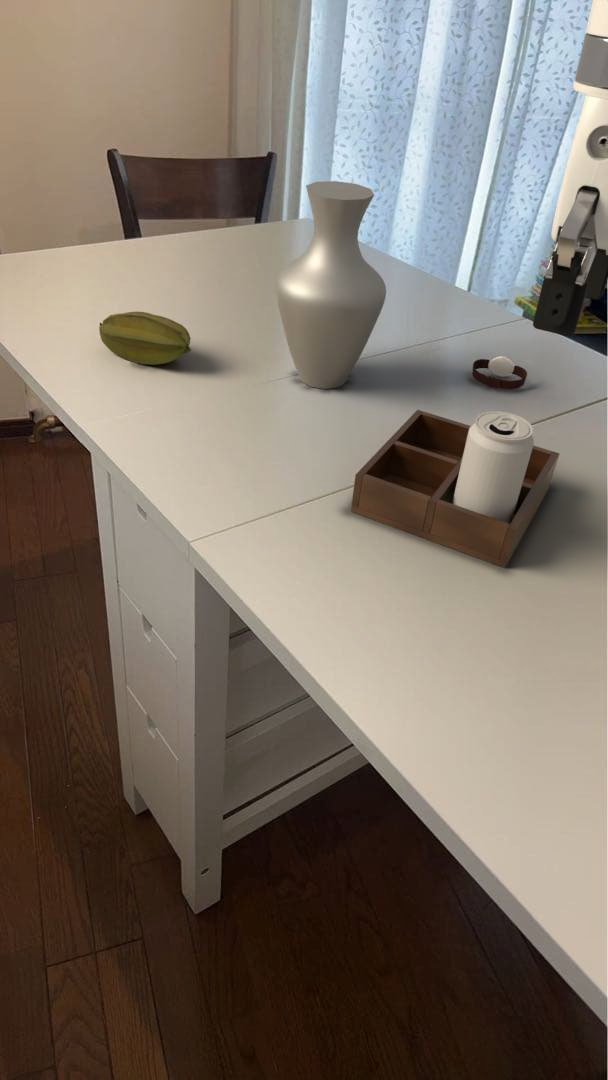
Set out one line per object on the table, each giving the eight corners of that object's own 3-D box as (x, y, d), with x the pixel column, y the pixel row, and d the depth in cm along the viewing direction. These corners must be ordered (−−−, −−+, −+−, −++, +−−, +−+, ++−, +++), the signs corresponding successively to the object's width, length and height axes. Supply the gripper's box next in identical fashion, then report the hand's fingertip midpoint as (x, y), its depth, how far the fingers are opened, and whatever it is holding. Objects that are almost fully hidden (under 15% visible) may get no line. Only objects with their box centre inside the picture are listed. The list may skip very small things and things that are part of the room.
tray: (548, 488, 93) (559, 453, 90) (504, 568, 81) (516, 530, 78) (411, 443, 99) (417, 409, 96) (350, 511, 86) (355, 474, 84)
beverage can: (440, 528, 83) (462, 428, 76) (460, 499, 88) (482, 402, 81) (499, 549, 81) (527, 448, 74) (516, 518, 86) (544, 420, 79)
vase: (395, 385, 111) (424, 196, 96) (318, 413, 103) (337, 212, 88) (325, 348, 120) (342, 169, 104) (249, 371, 112) (256, 181, 96)
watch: (525, 381, 115) (532, 358, 113) (521, 395, 112) (527, 371, 110) (473, 370, 117) (478, 347, 115) (467, 383, 113) (472, 359, 111)
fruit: (177, 339, 118) (176, 295, 114) (193, 375, 109) (193, 329, 105) (98, 344, 115) (94, 299, 111) (109, 382, 106) (104, 335, 102)
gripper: (671, 90, 47) (590, 360, 57) (706, 68, 60) (634, 293, 70) (546, 74, 50) (491, 335, 60) (605, 56, 62) (550, 274, 73)
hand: (568, 312), depth 65 cm, fingers open, 9 cm apart
